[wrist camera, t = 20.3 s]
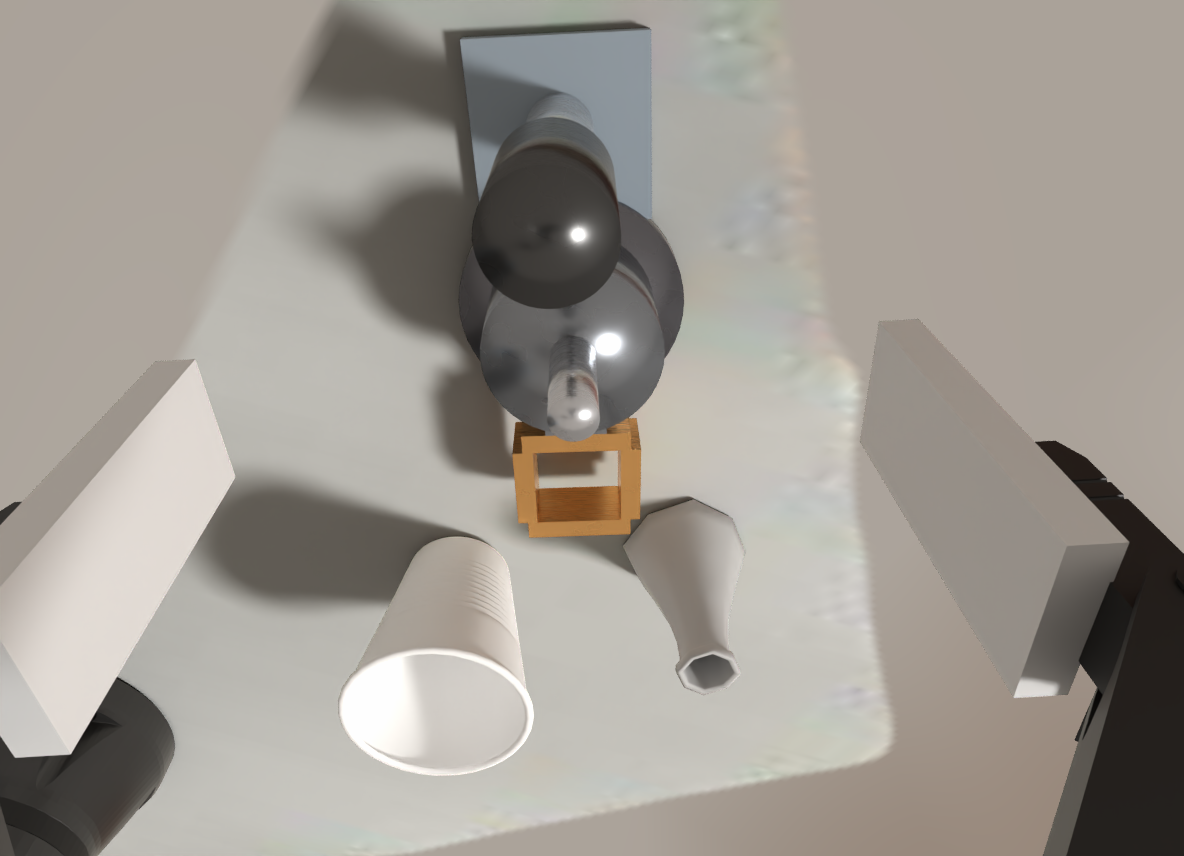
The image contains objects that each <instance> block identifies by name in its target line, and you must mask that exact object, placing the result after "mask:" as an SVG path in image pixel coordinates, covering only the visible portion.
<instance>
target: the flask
mask: <svg viewBox="0 0 1184 856" xmlns="http://www.w3.org/2000/svg"><path fill="white" fill-rule="evenodd" d="M623 548H624V550H625V552H626V554H627V556H628V558H629V560H630V562H631V564H632V566H633V568H634V570H635V572H636V574H637V576H638V578H639V580H640V581H641V583H642V584H643V586H644V587H645V589H646V590H647V592H648V593H649V594H650V596H651V597H652V599H653V600H654V601H655V603H656V604H657V606H658V607H659V609H660V610H661V612H662V613H663V615H664V617H665V618H666V620H667V621H668V623H669V624H670V626H671V628H672V631H673V633H674V636H675V639H676V641H677V645H678V651H679V656H680V661H679V662H678V663H677V664H676V668H675V669H676V673H677V675H678V677H679V679H680V680H681V682H682V684H683V686H684V687H685V688H687V689H690V690H692V691H695V692H697V693H700V694H702V695H706V694H709V693H713V692H716V691H720V690H723V689H727V688H728V687H729V686H730V685H731V684H732V683H733V682H734V681H735V680H736V679H737V678H738V677H739V676H740V675H741V671H740V668H739V666H738V664H737V662H736V659H735V657H734V655H733V653H732V652H731V651H730V648H729V616H730V612H731V607H732V603H733V598H734V593H735V589H736V585H737V582H738V578H739V574H740V571H741V567H742V564H743V560H744V556H745V549H744V547H743V544H742V542H741V539H740V537H739V534H738V531H737V529H736V526H735V524H734V521H733V519H732V518H731V517H729V516H727V515H725V514H723V513H720V512H718V511H716V510H714V509H712V508H710V507H708V506H706V505H704V504H702V503H700V502H698V501H696V500H694V499H693V500H690V501H687V502H684V503H681V504H678V505H675V506H672V507H669V508H666V509H663V510H660V511H657V512H654V513H651V514H648V515H647V517H646V518H645V519H644V520H643V522H642V523H641V524H640V525H639V527H638V528H637V529H636V530H635V532H634V533H633V534H632V535H631V537H630V538H629V539H628V540H627V542H626V543H625V544H624V545H623Z"/></svg>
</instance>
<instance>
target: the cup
mask: <svg viewBox="0 0 1184 856" xmlns="http://www.w3.org/2000/svg"><path fill="white" fill-rule="evenodd" d="M338 714H339V717H340V721H341V724H342V727H343V728H344V730H345V732H346V733H347V735H348V737H349V738H350V739H351V740H352V741H353V742H354V743H355V744H356V745H357V746H358V747H359V748H360V749H361V750H362V751H364V752H365V753H367V754H368V755H369V756H371V757H372V758H374V759H376V760H378V761H380V762H382V763H384V764H386V765H389V766H392V767H395V768H397V769H400V770H403V771H408V772H413V773H418V774H425V775H437V776H442V775H459V774H466V773H472V772H476V771H479V770H482V769H486V768H489V767H491V766H493V765H495V764H497V763H500V762H502V761H504V760H505V759H506V758H508V757H509V756H511V755H512V754H513V753H515V752H516V751H517V750H518V749H519V748H520V747H521V745H522V744H523V743H524V742H525V740H526V739H527V737H528V735H529V733H530V731H531V728H532V723H533V719H534V713H533V704H532V701H531V699H530V696H529V694H528V691H527V690H526V684H525V677H524V670H523V663H522V657H521V651H520V644H519V638H518V631H517V624H516V617H515V610H514V602H513V596H512V588H511V581H510V574H509V569H508V566H507V563H506V561H505V560H504V558H503V557H502V555H501V554H500V553H498V552H497V551H496V550H495V549H494V548H493V547H491V546H490V545H488V544H486V543H484V542H482V541H479V540H476V539H472V538H468V537H446V538H441V539H438V540H435V541H432V542H430V543H428V544H427V545H425V546H423V547H422V548H421V549H420V550H419V551H418V552H417V553H416V555H415V556H414V558H413V559H412V561H411V563H410V565H409V567H408V569H407V571H406V573H405V575H404V577H403V579H402V582H401V583H400V585H399V587H398V589H397V591H396V593H395V595H394V597H393V599H392V600H391V603H390V605H389V606H388V609H387V611H386V612H385V615H384V617H383V618H382V621H381V623H380V624H379V627H378V628H377V630H376V633H375V634H374V636H373V637H372V639H371V641H370V643H369V645H368V647H367V649H366V651H365V653H364V655H363V657H362V659H361V661H360V663H359V665H358V667H357V669H356V671H354V672H353V673H352V674H351V675H350V677H349V678H348V679H347V681H346V682H345V684H344V685H343V687H342V690H341V693H340V696H339V699H338Z"/></svg>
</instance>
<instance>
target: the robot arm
mask: <svg viewBox="0 0 1184 856" xmlns="http://www.w3.org/2000/svg"><path fill="white" fill-rule="evenodd" d="M860 443H861V444H862V446H863V448H864V449H865V451H866V453H867V454H868V455H869V458H870V459H871V461H872V463H873V464H874V466H875V468H876V469H877V471H878V473H879V474H880V476H881V478H882V479H883V481H884V483H885V484H886V486H887V488H888V489H889V491H890V493H891V495H892V496H893V498H894V500H895V501H896V503H897V504H898V506H899V508H900V510H901V511H902V513H903V515H904V516H905V518H906V520H907V521H908V523H909V524H910V526H911V528H912V530H913V531H914V533H915V534H916V536H917V538H918V540H919V541H920V543H921V545H922V546H923V548H924V549H925V551H926V553H927V554H928V556H929V558H930V560H931V561H932V563H933V565H934V566H935V568H936V570H937V571H938V573H939V575H940V576H941V578H942V580H943V581H944V583H945V584H946V586H947V588H948V590H949V591H950V593H951V595H952V596H953V598H954V600H955V601H956V603H957V605H958V606H959V608H960V610H961V611H962V613H963V615H964V616H965V618H966V619H967V621H968V623H969V625H970V626H971V628H972V630H973V631H974V633H975V635H976V636H977V638H978V640H979V641H980V643H981V645H982V646H983V648H984V650H985V651H986V653H987V654H988V656H989V658H990V660H991V661H992V663H993V664H994V666H995V668H996V670H997V671H998V673H999V675H1000V676H1001V678H1002V679H1003V681H1004V683H1005V685H1006V686H1007V688H1008V690H1009V691H1010V693H1011V695H1012V696H1013V698H1021V697H1037V696H1053V695H1068V693H1069V690H1070V688H1071V685H1072V683H1073V681H1074V678H1075V675H1076V673H1077V671H1078V668H1079V666H1080V664H1081V665H1082V667H1083V668H1084V669H1085V671H1086V672H1087V674H1088V675H1089V676H1090V678H1091V679H1092V681H1094V683H1095V685H1096V686H1097V689H1096V691H1095V694H1094V696H1093V698H1092V701H1091V703H1090V706H1089V708H1088V710H1087V712H1086V715H1085V717H1084V719H1083V722H1082V724H1081V726H1080V729H1079V731H1078V733H1077V736H1076V738H1075V741H1078V745H1077V748H1076V751H1075V754H1074V758H1073V761H1072V764H1071V767H1070V770H1069V774H1068V777H1067V780H1066V783H1065V786H1064V790H1063V793H1062V796H1061V799H1060V802H1059V806H1058V809H1057V812H1056V815H1055V818H1054V822H1053V825H1052V828H1051V831H1050V835H1049V838H1048V841H1047V844H1046V847H1045V851H1044V854H1043V856H1184V554H1183V553H1182V552H1181V551H1180V550H1179V549H1178V548H1177V547H1176V546H1175V545H1174V544H1173V543H1172V542H1171V541H1170V540H1169V539H1168V538H1167V537H1166V536H1165V535H1164V534H1163V533H1162V532H1161V531H1160V530H1159V529H1158V528H1157V527H1156V526H1155V525H1154V524H1153V523H1152V522H1151V521H1149V519H1148V518H1147V517H1146V516H1145V515H1144V514H1143V513H1142V512H1141V511H1140V510H1139V509H1138V508H1137V507H1136V506H1135V505H1134V504H1133V503H1132V502H1131V501H1129V500H1128V499H1124V497H1123V496H1124V495H1123V494H1122V493H1121V492H1120V491H1119V490H1118V489H1117V488H1116V487H1115V486H1114V485H1113V484H1112V483H1111V482H1107V478H1106V477H1105V476H1104V475H1103V474H1102V473H1101V472H1100V471H1099V470H1098V469H1097V468H1096V467H1095V466H1094V465H1093V464H1092V463H1091V462H1090V461H1089V460H1088V459H1087V458H1086V457H1084V456H1082V455H1080V454H1079V453H1077V452H1075V451H1073V450H1071V449H1070V448H1067V447H1066V446H1064V445H1062V444H1060V443H1059V442H1057V441H1042V442H1034V441H1033V440H1032V439H1031V438H1030V437H1029V435H1028V434H1027V433H1026V432H1025V431H1024V430H1023V429H1022V428H1021V427H1020V426H1019V425H1018V424H1017V423H1016V422H1015V421H1014V420H1013V419H1012V417H1011V416H1010V415H1009V414H1008V413H1007V412H1006V411H1005V410H1004V409H1003V408H1002V407H1001V406H1000V405H999V404H998V403H997V402H996V401H995V399H994V398H993V397H992V396H991V395H990V394H989V393H988V392H987V391H986V390H985V389H984V388H983V387H982V386H981V385H980V384H979V383H978V381H977V380H976V379H975V378H974V377H973V376H972V375H971V374H970V373H969V372H968V371H967V370H966V369H965V368H964V367H963V366H962V365H961V363H960V362H959V361H958V360H957V359H956V358H955V357H954V356H953V355H952V354H951V353H950V352H949V351H948V350H947V349H946V348H945V347H944V346H943V344H942V343H940V341H939V340H938V339H937V338H936V337H935V336H934V335H933V334H932V333H931V332H930V331H929V330H928V329H927V328H926V326H925V325H924V324H923V323H922V322H921V321H920V320H919V319H911V320H893V321H879V324H878V331H877V337H876V343H875V349H874V355H873V362H872V368H871V374H870V380H869V387H868V393H867V399H866V405H865V412H864V418H863V424H862V430H861V437H860ZM234 479H235V474H234V471H233V468H232V465H231V462H230V459H229V456H228V453H227V450H226V447H225V445H224V442H223V439H222V436H221V433H220V430H219V427H218V424H217V421H216V418H215V415H214V412H213V410H212V407H211V404H210V401H209V398H208V395H207V392H206V389H205V386H204V383H203V380H202V377H201V375H200V372H199V369H198V366H197V363H196V360H195V359H191V360H173V361H156V362H154V363H153V364H152V365H151V366H150V368H148V369H147V371H146V372H145V373H144V374H143V375H142V376H141V377H140V378H139V379H138V380H137V381H136V382H135V383H134V384H133V385H132V386H131V387H130V389H129V390H128V391H127V392H126V393H125V394H124V395H123V396H122V397H121V398H120V399H119V400H118V401H117V402H116V403H115V404H114V406H112V408H111V409H110V410H109V411H108V412H107V413H106V414H105V415H104V416H103V417H102V418H101V419H100V420H99V421H98V422H97V424H95V426H94V427H93V428H92V429H91V430H90V431H89V432H88V433H87V434H86V435H85V436H84V437H83V438H82V439H81V440H80V441H79V442H78V443H77V445H76V446H75V447H74V448H73V449H72V450H71V451H70V452H69V453H68V454H67V455H66V456H65V457H64V458H63V459H62V461H60V463H59V464H58V465H57V466H56V467H55V468H54V469H53V470H52V471H51V472H50V473H49V474H48V475H47V476H46V477H45V478H44V479H43V480H42V482H41V483H40V484H39V485H38V486H37V487H36V488H35V489H34V490H33V491H32V492H31V493H30V494H29V495H28V496H27V498H26V499H25V500H24V501H23V502H14V503H12V504H11V505H9V506H8V507H6V508H4V509H3V510H1V511H0V856H98V855H99V854H100V852H101V851H102V850H103V849H104V848H105V847H106V846H107V845H108V843H109V842H110V841H111V840H112V839H113V838H114V837H115V836H116V835H117V833H118V832H119V831H120V830H121V829H122V828H123V827H124V825H125V824H126V823H127V822H128V821H129V820H130V818H131V817H132V816H133V815H134V814H135V812H136V811H137V810H138V809H140V808H141V807H142V806H143V805H144V804H145V803H146V802H147V801H148V800H149V799H150V798H151V797H152V796H153V795H154V794H155V792H156V791H157V789H158V788H159V786H160V784H161V782H162V780H163V778H164V776H165V774H166V771H167V769H168V767H169V765H170V763H171V761H172V759H173V755H174V750H175V743H174V737H173V733H172V730H171V728H170V726H169V724H168V722H167V720H166V719H165V717H164V716H163V715H162V713H161V712H160V711H159V710H158V709H157V707H156V706H155V705H154V704H153V703H152V702H150V701H149V700H148V699H147V698H146V697H145V696H143V695H142V694H141V693H139V692H138V691H137V690H135V689H134V688H132V687H130V686H129V685H127V684H125V683H124V682H122V681H120V680H118V679H116V677H117V676H118V674H119V672H120V671H121V669H122V667H123V666H124V664H125V662H126V661H127V659H128V657H129V656H130V654H131V652H132V650H133V649H134V647H135V645H136V644H137V642H138V640H139V639H140V637H141V635H142V634H143V632H144V630H145V629H146V627H147V625H148V624H149V622H150V620H151V619H152V617H153V615H154V614H155V612H156V610H157V608H158V607H159V605H160V603H161V602H162V600H163V598H164V597H165V595H166V593H167V592H168V590H169V588H170V587H171V585H172V583H173V582H174V580H175V578H176V577H177V575H178V573H179V571H180V570H181V568H182V566H183V565H184V563H185V561H186V560H187V558H188V556H189V555H190V553H191V551H192V550H193V548H194V546H195V545H196V543H197V541H198V540H199V538H200V536H201V534H202V533H203V531H204V529H205V528H206V526H207V524H208V523H209V521H210V519H211V518H212V516H213V514H214V513H215V511H216V509H217V508H218V506H219V504H220V503H221V501H222V499H223V497H224V496H225V494H226V492H227V491H228V489H229V487H230V486H231V484H232V482H233V481H234Z"/></svg>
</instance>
